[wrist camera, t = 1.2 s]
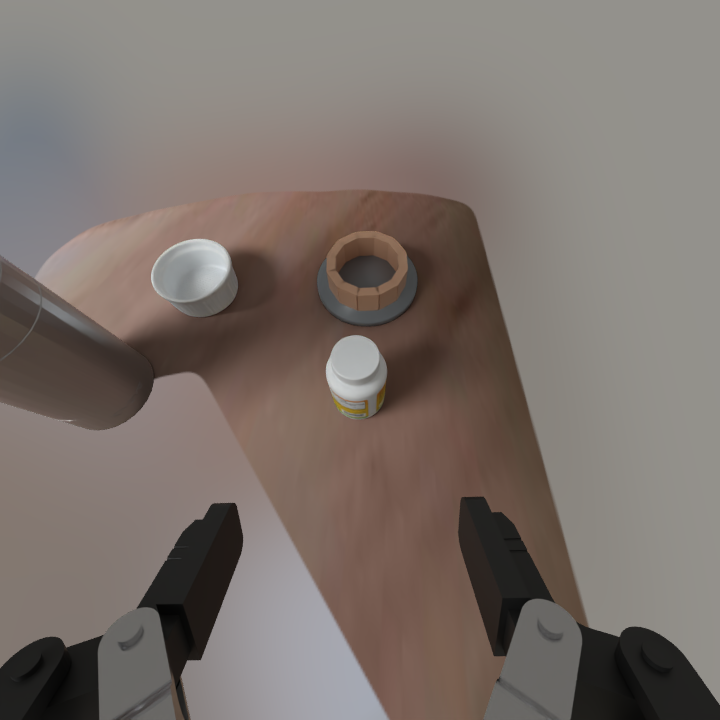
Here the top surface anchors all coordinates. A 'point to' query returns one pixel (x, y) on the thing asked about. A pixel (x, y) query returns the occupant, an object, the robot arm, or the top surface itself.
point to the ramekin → (196, 277)
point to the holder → (367, 279)
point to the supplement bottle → (357, 377)
